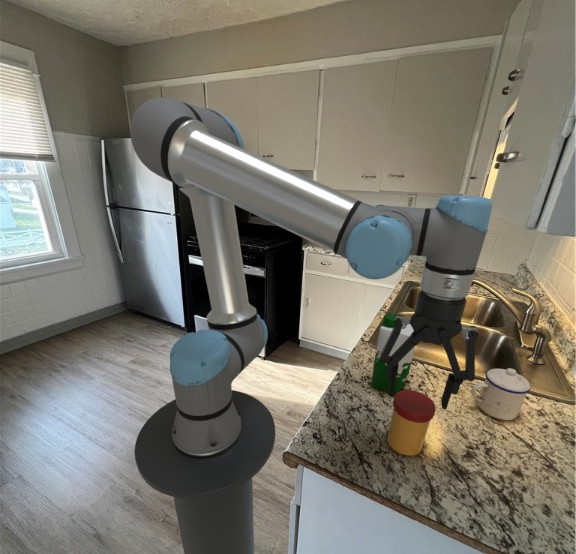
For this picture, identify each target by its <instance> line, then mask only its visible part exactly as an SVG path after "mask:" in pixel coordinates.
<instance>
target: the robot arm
mask: <svg viewBox="0 0 576 554" xmlns="http://www.w3.org/2000/svg"><path fill="white" fill-rule="evenodd" d="M130 141H131V144H132V147H133V150H134V152H135V154H136V156H137V159H138V160H139V161H140V162H141V163H142V164H143V166H144V167H146V169H147V170H149V171H150V172H152V173H153V174H155V175H156V176H159V177H160V178H163V179H164V180H166V181H168V182H170V183H172V184H175V185H177V186H179V191H180V192H182V193H183V194H184V195H186V196H187V197H188V199H189V202H190V207H191V211H192V217H193V221H194V226H195V231H196V237H197V241H198V247H199V252H200V258H201V261H202V267H203V272H204V277H205V282H206V286H207V292H208V297H209V302H210V307H211V310H210V311H209V312H208V314H207V315H206V321H207V326H208V329H199V330H197V331H196V332H193V331H192V332H189V333H186V334H185V335H183V336H181V337H180V338H179V339H177V341H175V343H174V344H173V345H172V347H171V349H170V351H169V373H170V375H171V381H172V388H173V394H174V400H175V399H176V405H177V413H176V416H175V420H174V424H173V429H172V438H173V443H174V446H175V447H176V449H177V450H178V451H179V452H180V453H182V454H183V455H185V456H187V457H191V458H197V459H205V458H211V457H215V456H218V455H220V454H223V453H224V452H226V451H228V450H229V449H230V448H232V447H233V446H234V445H235V444H236V442H237V441H238V440H239V438H240V435H241V432H242V422H241V418H240V415H239V414H240V413H238V410H236V407H235V406H234V403H233V401H232V390H233V389H232V384H233V382H234V381H235V380H236V378H237V377H238V376H239V375H240V374H241V373H242V372H243V371H244V370H245V369H246V368H247V367H249V365H250V364H251V363H252V362H253V361H254V360H255V359H257V358H258V357H259V355H260V354H261V353H262V352H263V350H264V348H265V347H266V345H267V342H268V338H269V337H268V336H269V334H268V327H267V325H266V322H265V320H264V319H261V316H260V315H259V314H258V313H257V312H258V311H257V308H256V307H255V306H253V305H252V304H250V302H249V295H248V289H247V282H246V276H245V269H244V268H245V267H244V262H243V255H242V248H241V242H240V235H239V229H238V222H237V215H236V208H235V206H236V207H238V208H240V209H242V210H244V211H246V212H249V213H250V214H253V215H255V216H257V217H259V218H261V219H263V220H265V221H267V222H270V223H271V224H274V225H276V226H278V227H280V228H282V229H284V230H286V231H288V232H290V233H292V234H295V235H296V236H299V237H300V238H302V239H305V240H307V241H309V242H311V243H313V244H315V245H317V246H320V247H321V248H323V249H325V250H328V251H330V252H331V253H333V254H336V255H338V256H340V257H342V258H343V259H346V261H347V263H348V264H349V266H350V268H351V269H352V270H353V271H354V272H355V273H356V274H357V275H359V276H360V277H362V278H365V279H367V280H368V279H369V280H382V279H386V278H390V277H391V276H393V275H394V274H396V273H397V272H399V270H400V269H401V268H402V267H403V265H404V264H405V263H407V261H408V260H409V258H410V256H416V257H425V263H424V268H423V271H422V276H421V280H420V281H421V282H420V285H419V287H420V289H421V290H419V292H418V295H417V299H416V305H415V308H414V313H413V314H412V315H411V316H402V314H400V313H399V314H395V315H396V317H395V324H394V328H393V330H392V332H391V334H390V336H389V338H388V340H387V342H386V344H385V346H384V348H383V350H382V352H381V355H380V359H379V361H380V362H381V363H385V364H387V366H388V368H387V373H386V379H387V380H391V384H390V389H389V392H388V397H391V398H393V397H394V394H393V392H394V387H395V382H396V377H397V372H398V365H399V362H400V361H401V360H402V359H403V358H404V356H405V355H406V354H407V353H408V352H409V351H410V350H411V349H412V348H413V347H414V346H415V347H416V346H418V345H419V344H420V343H425V344H427V343H428V344H429V343H432V344H433V345H437V346H443V349H444V351H445V355H446V357H447V359H448V363H449V366H450V368H451V371H452V372H451V373H450V372H449V373H448V376H447V379H446V382H445V384H444V385H445V386H444V389H443V393H442V396H441V399H440V402H441V409H442V410H447V409H448V406H449V402H450V399H451V396H452V395H454V396H455V395H457V394H458V393H459V390H460V387H461V385H462V384H463V383H464V381H469V382H474V381H475V379H476V343H477V340H478V338H479V336H480V333H479V330H478V328H477V326H475V325H471V326H465V325H463V324H462V319H463V315H464V312H465V309H466V305H467V301H468V299H466V297H468V296H469V294H470V290H471V286H472V284H473V280H474V276H475V272H476V270H477V269H476V268H477V265H478V262H479V259H480V256H481V252H482V249H483V246H484V242H485V239H486V236H487V234H488V232H489V228H488V227H489V224H490V218H491V215H492V210H493V202H492V200H491V199H489V198H488V197H484V196H478V195H477V196H476V195H475V196H473V195H453V194H452V195H449V194H448V195H447V194H446V195H442V196H440V197H439V199H438V201H437V204H436V206H435V207H425V208H422V207H410V206H397V205H385V204H368V203H366V202H363V201H360V200H359V199H357V198H355V197H352V196H350V195H348V194H346V193H344V192H341V191H339V190H337V189H334V188H332V187H330V186H328V185H325V184H323V183H321V182H319V181H317V180H314V179H312V178H310V177H308V176H305V175H304V174H301V173H298V172H296V171H293V170H291V169H289V168H287V167H285V166H283V165H281V164H278V163H276V162H273V161H271V160H269V159H267V158H265V157H263V156H260V155H258V154H256V153H253V152H251V151H249V150H247V149H245V146H244V142H243V138H242V135H241V133H240V131H239V129H238V127H237V126H236V125H235V123H234V122H233V121H232V120H231V119H229V118H228V117H227V116H225V115H223V114H221V113H220V112H219V111H216V110H214V109H211V108H207V107H205V108H204V107H201V106H199V105H195V104H190V103H187V102H184V101H180V100H178V99H175V98H172V97H171V98H170V97H155V98H150V99H148V100H147V101H145V102H143V103H142V104H140V105H139V107H138V108H137V109H136V111H135V112H134V113H133V116H132V118H131V124H130ZM408 324H410V325H411V326H412V328H413V330H414V331H413V332H412V334H411V335H410V337H409V338H408V339H407V340H406V341H405V342H404V343H403V344H402V345H401V346H400V347H399V348H398V349H397V350H396V351H395V352H394V353H393V355H392V356H389V354H390V352H391V350H392V348H393V346H394V344H395V342H396V341H397V339H398V337H399V335H400V332H401V329H404V328H406V326H407V325H408ZM460 333H461V334H462V338H463V339H464V353H465V354H464V358H465V360H464V362H465V363H464V365H465V366H464V368H465V369H464V370H461V367H460V364H459V361H458V358H457V355H456V352H455V349H454V347H453V344H452V339H453V338H455V337H456V336H458V335H459V334H460Z"/></svg>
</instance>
